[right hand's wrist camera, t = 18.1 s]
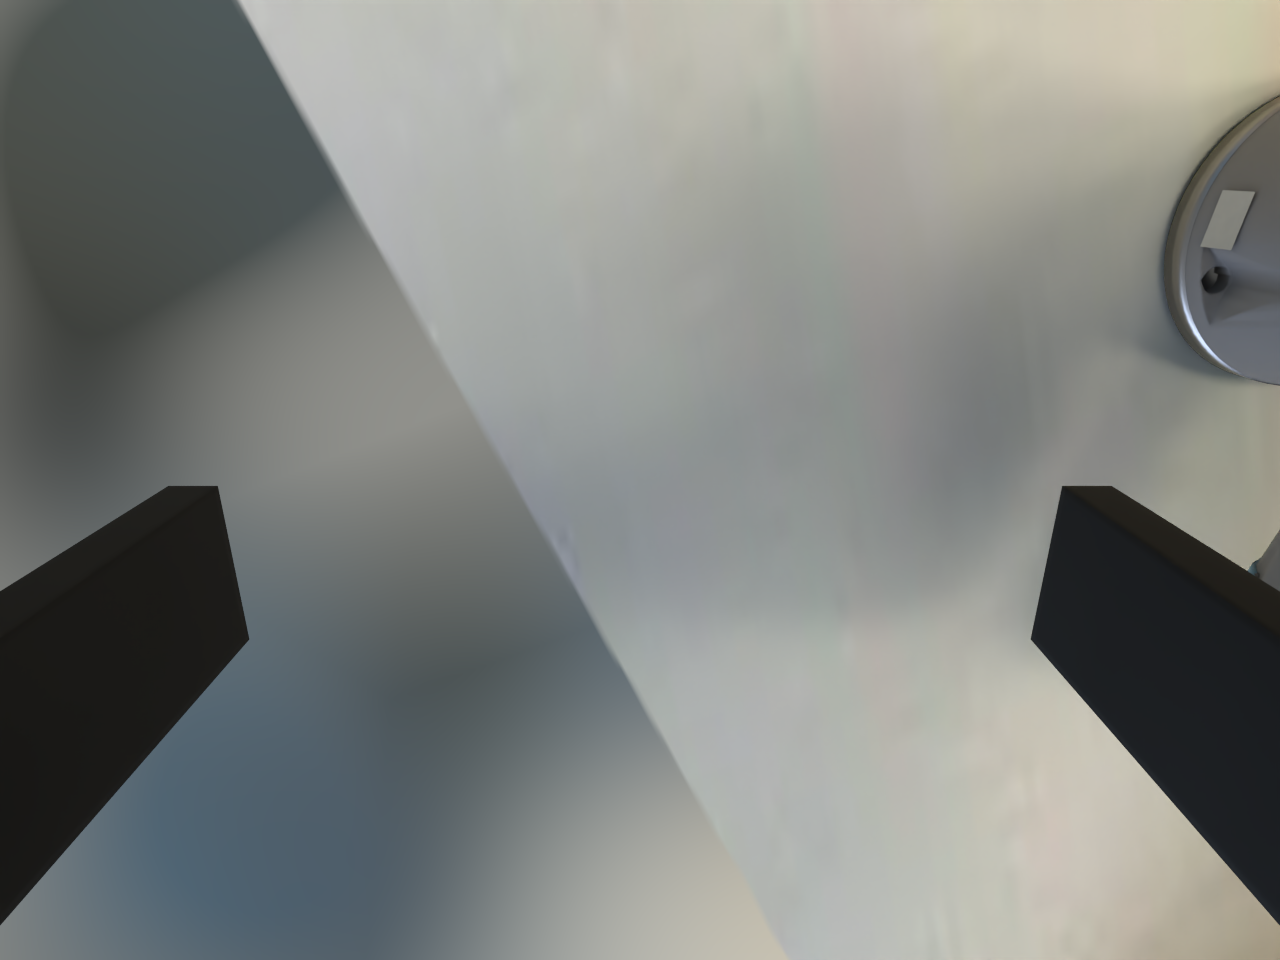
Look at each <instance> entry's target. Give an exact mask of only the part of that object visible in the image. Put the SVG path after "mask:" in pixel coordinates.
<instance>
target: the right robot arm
mask: <svg viewBox="0 0 1280 960" xmlns="http://www.w3.org/2000/svg"><path fill="white" fill-rule="evenodd" d="M1164 283H1165V291H1166V297H1167V301H1168V305H1169V309H1170V312H1171V314H1172V317H1173V320H1174V322H1175V324H1176V326H1177V328H1178V330H1179V331H1180V333H1181V334H1182V336H1183V337H1184V339H1185V340H1186V341H1187V343H1188V344H1189V345H1190V346H1191V347H1192V348H1193V349H1194V350H1195V351H1196V352H1197V353H1198V354H1199V355H1200V356H1201V357H1203V358H1204V359H1206V360H1207V361H1208V362H1210V363H1211V364H1213V365H1215V366H1217V367H1219V368H1221V369H1223V370H1225V371H1228V372H1230V373H1233V374H1236V375H1239V376H1242V377H1246V378H1249V379H1252V380H1255V381H1259V382H1263V383H1267V384H1273V385H1280V96H1279V97H1278V98H1276V99H1274V100H1272V101H1271V102H1269V103H1267V104H1266V105H1264V106H1263V107H1261V108H1260V109H1258V110H1257V111H1255V112H1254V113H1252V114H1251V115H1250V116H1248V117H1247V118H1246V119H1245V120H1244V121H1242V122H1241V123H1240V124H1239V125H1237V126H1236V127H1235V128H1234V129H1233V130H1232V131H1231V132H1230V133H1229V134H1228V135H1227V136H1226V137H1225V138H1224V139H1223V140H1222V141H1221V142H1220V143H1219V144H1218V145H1217V146H1216V147H1215V149H1214V150H1213V151H1212V152H1211V153H1210V155H1209V156H1208V157H1207V158H1206V160H1205V161H1204V162H1203V164H1202V165H1201V166H1200V168H1199V169H1198V171H1197V172H1196V174H1195V175H1194V177H1193V178H1192V180H1191V182H1190V184H1189V186H1188V187H1187V189H1186V191H1185V193H1184V195H1183V197H1182V199H1181V201H1180V203H1179V206H1178V208H1177V210H1176V213H1175V216H1174V219H1173V221H1172V225H1171V228H1170V232H1169V236H1168V240H1167V246H1166V251H1165V262H1164ZM248 640H249V636H248V631H247V626H246V621H245V616H244V611H243V607H242V602H241V597H240V592H239V587H238V582H237V577H236V573H235V568H234V563H233V558H232V553H231V548H230V544H229V539H228V534H227V529H226V524H225V519H224V514H223V509H222V505H221V500H220V495H219V490H218V486H168V487H166V488H165V489H163V490H161V491H160V492H158V493H157V494H155V495H153V496H152V497H150V498H149V499H147V500H145V501H144V502H142V503H141V504H139V505H137V506H136V507H134V508H133V509H131V510H130V511H128V512H126V513H125V514H123V515H121V516H120V517H118V518H117V519H115V520H113V521H112V522H110V523H109V524H107V525H105V526H104V527H102V528H101V529H99V530H97V531H96V532H94V533H93V534H91V535H90V536H88V537H86V538H85V539H83V540H82V541H80V542H78V543H77V544H75V545H74V546H72V547H70V548H69V549H67V550H66V551H64V552H62V553H61V554H59V555H58V556H56V557H54V558H53V559H51V560H50V561H48V562H46V563H45V564H43V565H42V566H40V567H38V568H37V569H35V570H34V571H32V572H31V573H29V574H27V575H26V576H24V577H23V578H21V579H19V580H18V581H16V582H14V583H13V584H11V585H10V586H8V587H7V588H5V589H3V590H2V591H0V925H1V924H2V923H3V922H4V920H5V919H6V918H7V917H8V916H9V915H10V913H11V912H12V911H13V910H14V909H15V908H16V906H17V905H18V904H19V903H20V902H21V901H22V900H23V898H24V897H25V896H26V895H27V894H28V893H29V892H30V890H31V889H32V888H33V887H34V886H35V885H36V884H37V882H38V881H39V880H40V879H41V878H42V877H43V876H44V874H45V873H46V872H47V871H48V870H49V869H50V868H51V866H52V865H53V864H54V863H55V862H56V861H57V859H58V858H59V857H60V856H61V855H62V854H63V853H64V851H65V850H66V849H67V848H68V847H69V846H70V845H71V843H72V842H73V841H74V840H75V839H76V838H77V837H78V835H79V834H80V833H81V832H82V831H83V830H84V828H85V827H86V826H87V825H88V824H89V823H90V822H91V820H92V819H93V818H94V817H95V816H96V815H97V814H98V812H99V811H100V810H101V809H102V808H103V807H104V806H105V804H106V803H107V802H108V801H109V800H110V799H111V797H112V796H113V795H114V794H115V793H116V792H117V791H118V789H119V788H120V787H121V786H122V785H123V784H124V783H125V781H126V780H127V779H128V778H129V777H130V776H131V774H132V773H133V772H134V771H135V770H136V769H137V768H138V766H139V765H140V764H141V763H142V762H143V761H144V760H145V758H146V757H147V756H148V755H149V754H150V753H151V751H152V750H153V749H154V748H155V747H156V746H157V745H158V744H159V742H160V741H161V740H162V739H163V738H164V737H165V735H166V734H167V733H168V732H169V731H170V730H171V729H172V727H173V726H174V725H175V724H176V723H177V722H178V720H179V719H180V718H181V717H182V716H183V715H184V714H185V713H186V711H187V710H188V709H189V708H190V707H191V706H192V704H193V703H194V702H195V701H196V700H197V699H198V698H199V696H200V695H201V694H202V693H203V692H204V691H205V690H206V688H207V687H208V686H209V685H210V684H211V683H212V682H213V680H214V679H215V678H216V677H217V676H218V675H219V673H220V672H221V671H222V670H223V669H224V668H225V667H226V665H227V664H228V663H229V662H230V661H231V660H232V659H233V657H234V656H235V655H236V654H237V653H238V652H239V651H240V649H241V648H242V647H243V646H244V645H245V644H246V642H247V641H248ZM1031 640H1032V641H1033V642H1034V644H1035V645H1036V646H1037V647H1038V648H1039V649H1040V651H1041V652H1042V653H1043V654H1044V655H1045V656H1046V657H1047V659H1048V660H1049V661H1050V662H1051V663H1052V664H1053V665H1054V667H1055V668H1056V669H1057V670H1058V671H1059V672H1060V673H1061V675H1062V676H1063V677H1064V678H1065V679H1066V680H1067V682H1068V683H1069V684H1070V685H1071V686H1072V687H1073V688H1074V690H1075V691H1076V692H1077V693H1078V694H1079V695H1080V696H1081V698H1082V699H1083V700H1084V701H1085V702H1086V703H1087V704H1088V706H1089V707H1090V708H1091V709H1092V710H1093V711H1094V713H1095V714H1096V715H1097V716H1098V717H1099V718H1100V719H1101V721H1102V722H1103V723H1104V724H1105V725H1106V726H1107V727H1108V729H1109V730H1110V731H1111V732H1112V733H1113V734H1114V735H1115V737H1116V738H1117V739H1118V740H1119V741H1120V742H1121V744H1122V745H1123V746H1124V747H1125V748H1126V749H1127V750H1128V752H1129V753H1130V754H1131V755H1132V756H1133V757H1134V758H1135V760H1136V761H1137V762H1138V763H1139V764H1140V765H1141V766H1142V768H1143V769H1144V770H1145V771H1146V772H1147V773H1148V775H1149V776H1150V777H1151V778H1152V779H1153V780H1154V781H1155V783H1156V784H1157V785H1158V786H1159V787H1160V788H1161V789H1162V791H1163V792H1164V793H1165V794H1166V795H1167V796H1168V797H1169V799H1170V800H1171V801H1172V802H1173V803H1174V804H1175V806H1176V807H1177V808H1178V809H1179V810H1180V811H1181V812H1182V814H1183V815H1184V816H1185V817H1186V818H1187V819H1188V820H1189V822H1190V823H1191V824H1192V825H1193V826H1194V827H1195V828H1196V830H1197V831H1198V832H1199V833H1200V834H1201V835H1202V837H1203V838H1204V839H1205V840H1206V841H1207V842H1208V843H1209V845H1210V846H1211V847H1212V848H1213V849H1214V850H1215V851H1216V853H1217V854H1218V855H1219V856H1220V857H1221V858H1222V859H1223V861H1224V862H1225V863H1226V864H1227V865H1228V866H1229V868H1230V869H1231V870H1232V871H1233V872H1234V873H1235V874H1236V876H1237V877H1238V878H1239V879H1240V880H1241V881H1242V882H1243V884H1244V885H1245V886H1246V887H1247V888H1248V889H1249V891H1250V892H1251V893H1252V894H1253V895H1254V896H1255V897H1256V899H1257V900H1258V901H1259V902H1260V903H1261V904H1262V905H1263V907H1264V908H1265V909H1266V910H1267V911H1268V912H1269V913H1270V915H1271V916H1272V917H1273V918H1274V919H1275V920H1276V922H1277V923H1278V924H1279V925H1280V530H1279V532H1278V533H1277V535H1276V536H1275V538H1274V539H1273V541H1272V542H1271V544H1270V545H1269V547H1268V548H1267V550H1266V551H1265V553H1264V554H1263V556H1262V557H1261V558H1260V559H1258V560H1257V561H1255V562H1253V563H1252V565H1251V566H1250V567H1249V569H1248V571H1246V570H1245V569H1243V568H1242V567H1240V566H1238V565H1237V564H1235V563H1234V562H1232V561H1230V560H1229V559H1227V558H1226V557H1224V556H1222V555H1221V554H1219V553H1218V552H1216V551H1214V550H1213V549H1211V548H1210V547H1208V546H1206V545H1205V544H1203V543H1202V542H1200V541H1198V540H1197V539H1195V538H1194V537H1192V536H1190V535H1189V534H1187V533H1186V532H1184V531H1183V530H1181V529H1179V528H1178V527H1176V526H1175V525H1173V524H1171V523H1170V522H1168V521H1167V520H1165V519H1163V518H1162V517H1160V516H1159V515H1157V514H1155V513H1154V512H1152V511H1151V510H1149V509H1147V508H1146V507H1144V506H1143V505H1141V504H1139V503H1138V502H1136V501H1135V500H1133V499H1131V498H1130V497H1128V496H1127V495H1125V494H1123V493H1122V492H1120V491H1119V490H1117V489H1115V488H1114V487H1112V486H1062V490H1061V495H1060V500H1059V505H1058V509H1057V514H1056V519H1055V524H1054V529H1053V534H1052V539H1051V543H1050V548H1049V553H1048V558H1047V563H1046V568H1045V573H1044V577H1043V582H1042V587H1041V592H1040V597H1039V602H1038V607H1037V611H1036V616H1035V621H1034V626H1033V631H1032V636H1031Z"/></svg>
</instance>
